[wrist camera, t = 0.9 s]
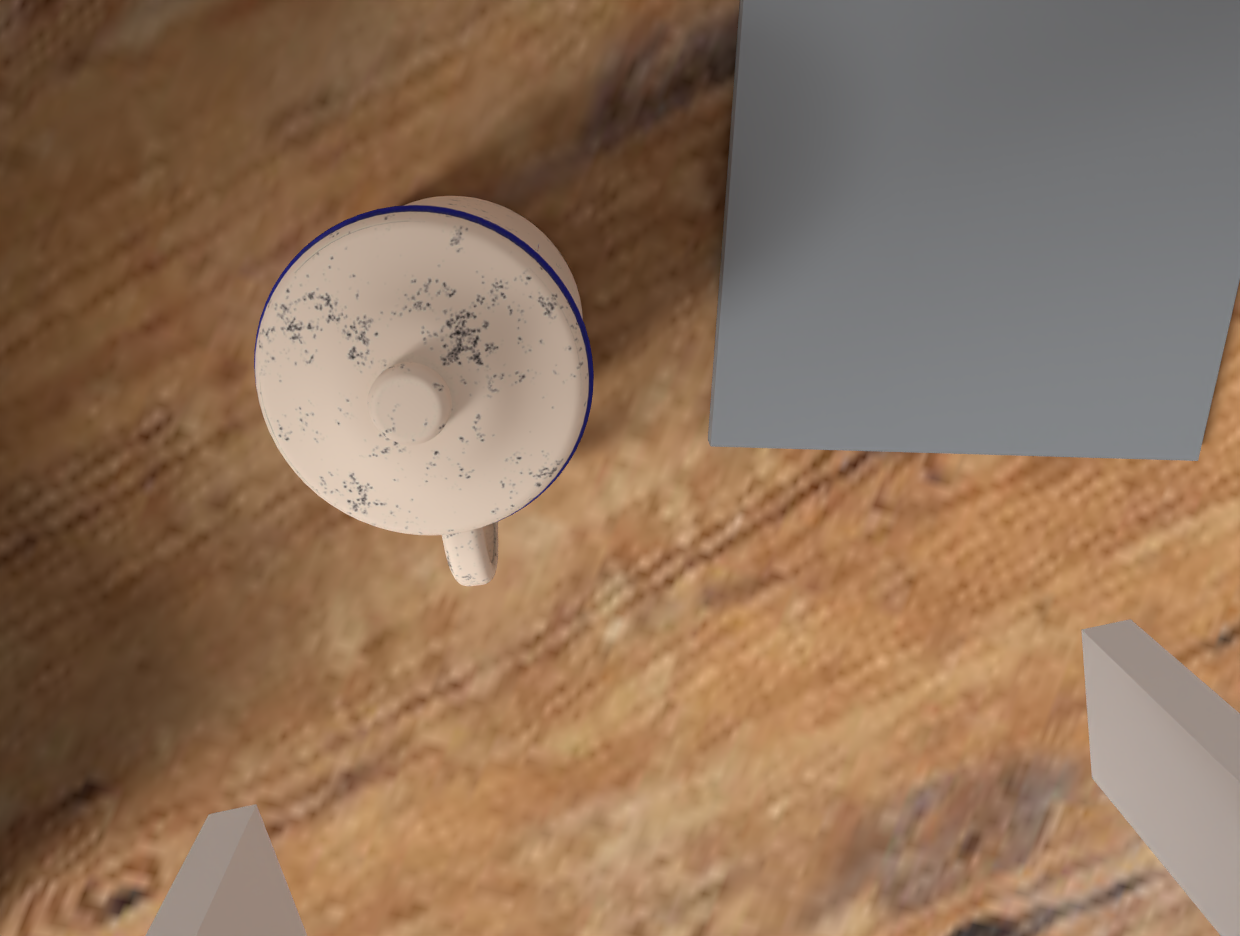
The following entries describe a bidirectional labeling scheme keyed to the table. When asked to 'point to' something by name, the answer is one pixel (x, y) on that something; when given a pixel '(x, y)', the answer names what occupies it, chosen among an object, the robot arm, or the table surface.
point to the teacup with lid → (428, 370)
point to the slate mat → (979, 226)
